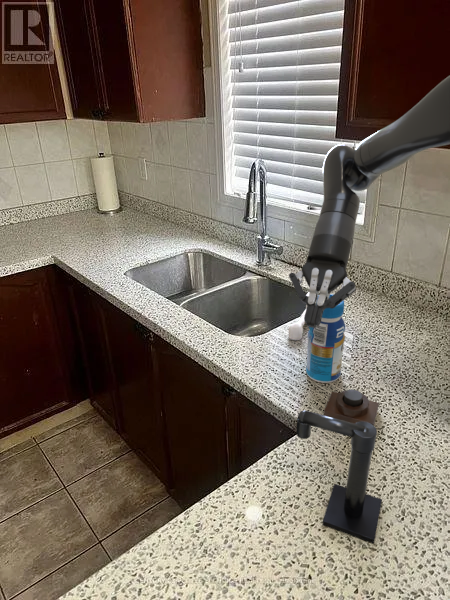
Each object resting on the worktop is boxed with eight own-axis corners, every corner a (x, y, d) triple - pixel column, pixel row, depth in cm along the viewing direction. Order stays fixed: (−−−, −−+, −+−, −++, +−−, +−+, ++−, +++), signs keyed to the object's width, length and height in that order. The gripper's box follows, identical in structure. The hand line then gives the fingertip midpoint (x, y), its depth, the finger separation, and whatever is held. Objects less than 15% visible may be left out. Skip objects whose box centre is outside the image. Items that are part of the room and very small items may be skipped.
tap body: (381, 503, 75) (393, 436, 68) (373, 544, 69) (386, 474, 62) (333, 487, 78) (341, 421, 72) (322, 525, 72) (329, 456, 65)
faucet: (287, 349, 126) (284, 326, 119) (307, 306, 137) (305, 282, 130) (301, 352, 124) (299, 329, 118) (319, 309, 135) (318, 285, 128)
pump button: (362, 398, 94) (363, 391, 93) (359, 408, 91) (360, 402, 90) (345, 394, 95) (346, 387, 94) (342, 404, 92) (342, 397, 92)
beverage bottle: (299, 367, 111) (303, 294, 102) (331, 361, 112) (337, 289, 103) (314, 387, 103) (319, 311, 94) (347, 380, 105) (355, 305, 96)
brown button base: (377, 410, 96) (380, 396, 94) (372, 432, 90) (374, 416, 88) (331, 399, 99) (332, 384, 98) (323, 418, 94) (324, 403, 92)
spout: (375, 446, 68) (378, 424, 66) (371, 462, 65) (375, 439, 63) (299, 425, 73) (301, 403, 70) (293, 439, 70) (294, 416, 68)
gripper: (295, 228, 85) (272, 313, 81) (366, 236, 80) (345, 327, 75) (301, 246, 92) (280, 325, 87) (368, 254, 86) (349, 339, 82)
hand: (311, 326), depth 81 cm, fingers closed
